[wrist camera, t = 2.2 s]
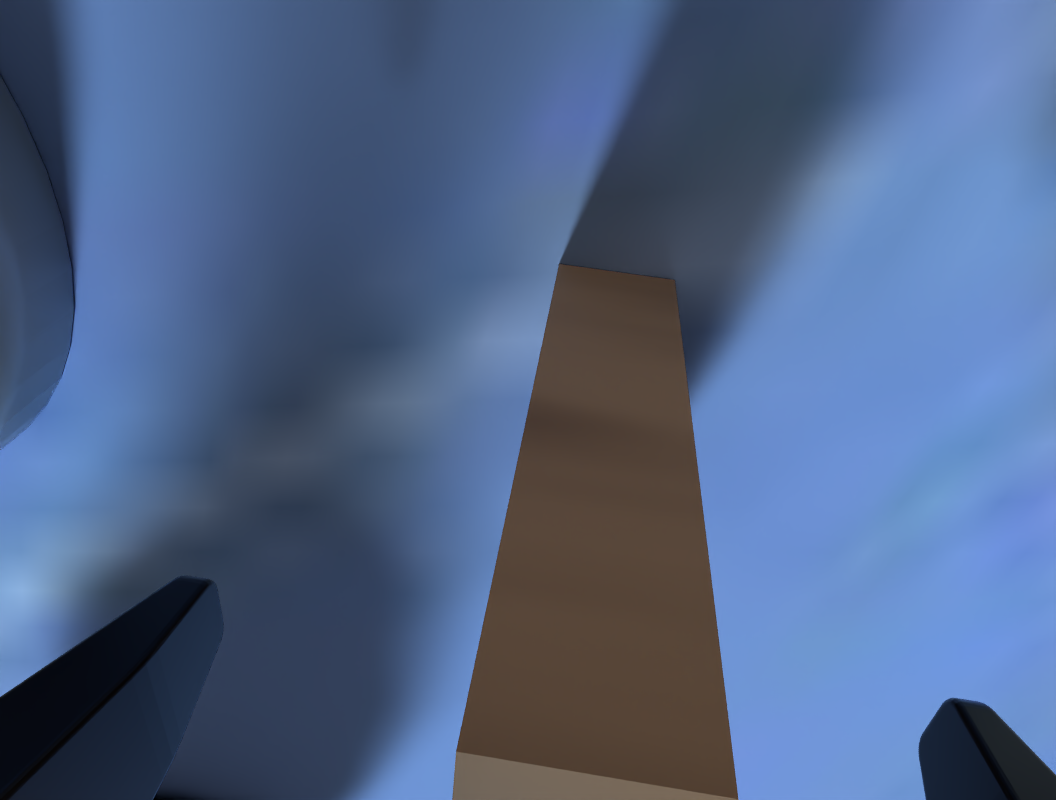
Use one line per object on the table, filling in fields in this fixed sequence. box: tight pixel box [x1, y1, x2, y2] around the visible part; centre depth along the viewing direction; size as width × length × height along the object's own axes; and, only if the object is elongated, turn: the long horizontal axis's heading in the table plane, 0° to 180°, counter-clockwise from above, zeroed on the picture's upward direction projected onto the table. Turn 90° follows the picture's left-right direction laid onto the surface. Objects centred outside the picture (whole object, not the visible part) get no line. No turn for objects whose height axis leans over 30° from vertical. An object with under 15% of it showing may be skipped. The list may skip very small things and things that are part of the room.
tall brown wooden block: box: [452, 264, 738, 800], centre depth 10 cm, size 5×2×9 cm, turn 174°
